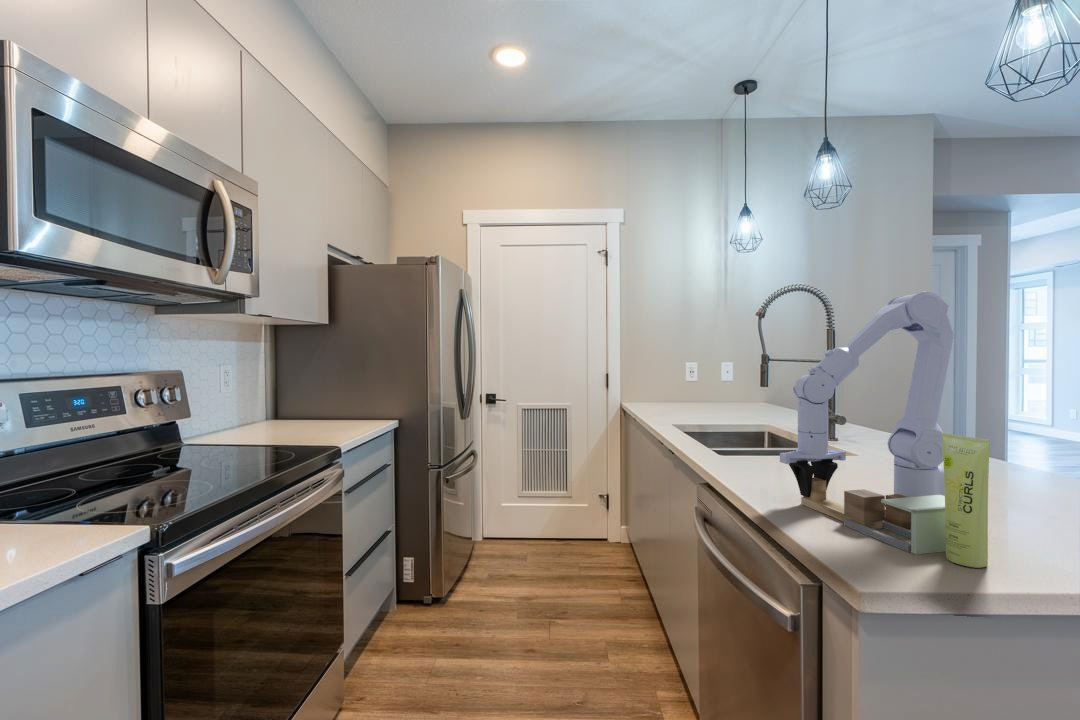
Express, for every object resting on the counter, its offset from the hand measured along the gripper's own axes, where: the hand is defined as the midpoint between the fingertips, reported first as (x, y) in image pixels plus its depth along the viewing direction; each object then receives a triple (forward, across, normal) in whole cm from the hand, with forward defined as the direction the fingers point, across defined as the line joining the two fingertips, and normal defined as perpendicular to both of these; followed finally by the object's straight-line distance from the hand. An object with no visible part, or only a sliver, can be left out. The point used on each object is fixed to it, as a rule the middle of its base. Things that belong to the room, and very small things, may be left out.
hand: (812, 495), depth 107 cm
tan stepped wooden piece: (+2, 0, +7) cm, 7 cm away
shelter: (+2, -3, +23) cm, 23 cm away
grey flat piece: (+2, -3, +18) cm, 19 cm away
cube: (0, 0, +13) cm, 13 cm away
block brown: (+2, -6, +13) cm, 14 cm away
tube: (+2, -2, +30) cm, 30 cm away
